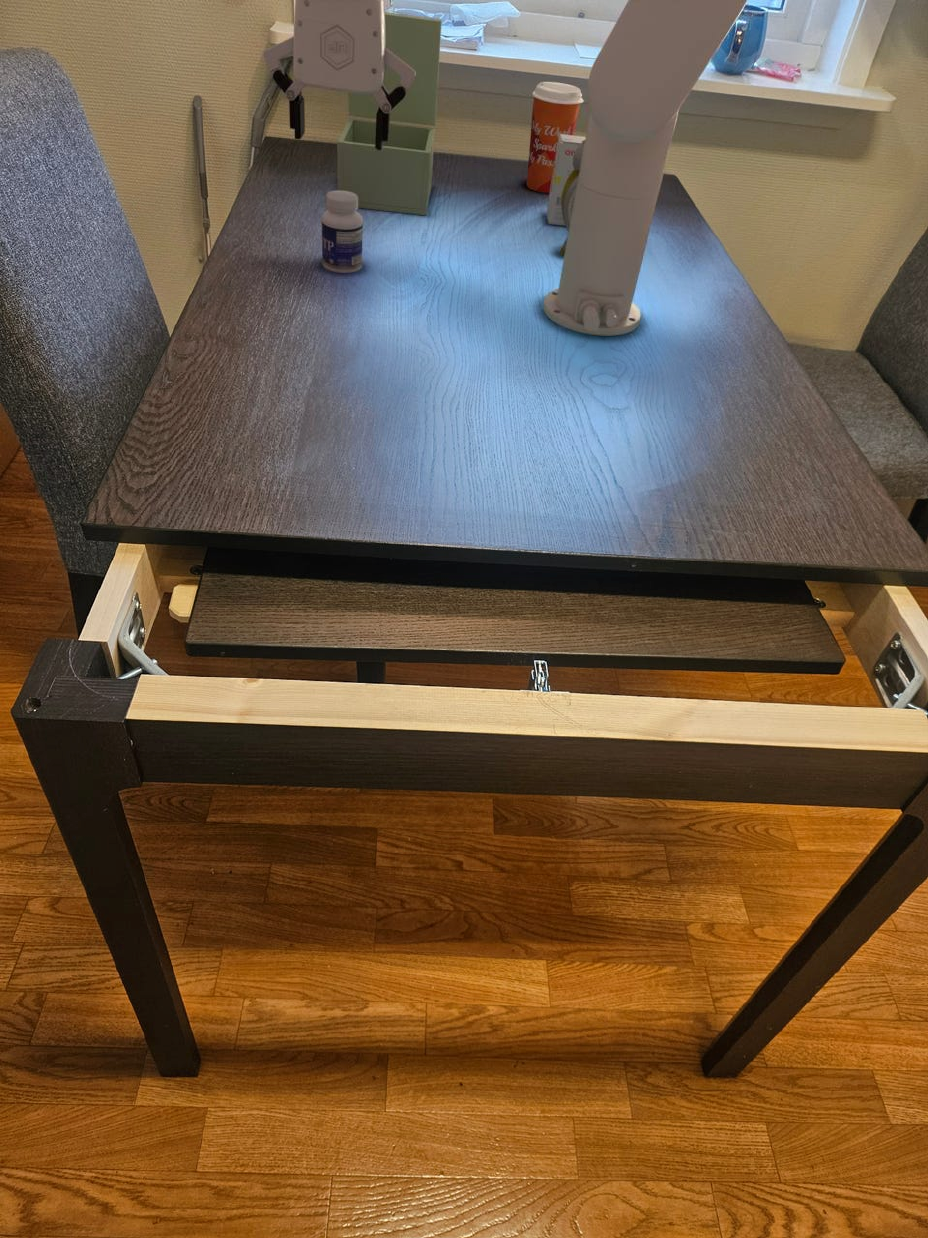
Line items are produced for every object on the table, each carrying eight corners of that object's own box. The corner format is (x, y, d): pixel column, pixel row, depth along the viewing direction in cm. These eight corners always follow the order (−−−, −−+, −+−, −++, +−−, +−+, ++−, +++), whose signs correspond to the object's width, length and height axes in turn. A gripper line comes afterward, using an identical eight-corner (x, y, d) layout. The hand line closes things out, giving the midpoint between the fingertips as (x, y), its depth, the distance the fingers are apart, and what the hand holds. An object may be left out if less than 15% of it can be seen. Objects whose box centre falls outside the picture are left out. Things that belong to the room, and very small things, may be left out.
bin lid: (441, 21, 121) (443, 5, 125) (346, 9, 121) (351, -7, 124) (435, 125, 133) (437, 108, 137) (348, 115, 133) (353, 98, 136)
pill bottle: (317, 259, 113) (315, 188, 107) (354, 257, 115) (354, 187, 109) (329, 275, 110) (329, 203, 104) (367, 272, 112) (369, 201, 106)
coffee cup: (514, 188, 144) (528, 87, 133) (526, 176, 149) (540, 77, 139) (562, 198, 142) (580, 96, 132) (572, 185, 148) (589, 86, 138)
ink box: (598, 219, 137) (614, 137, 128) (601, 230, 133) (618, 147, 125) (545, 213, 136) (558, 131, 128) (547, 224, 132) (560, 140, 124)
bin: (426, 215, 130) (430, 152, 124) (337, 205, 129) (337, 141, 123) (431, 187, 140) (435, 127, 134) (348, 177, 139) (349, 117, 133)
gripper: (253, -43, 87) (261, 140, 99) (419, -19, 88) (408, 160, 100) (267, -51, 93) (273, 123, 105) (424, -28, 94) (413, 142, 106)
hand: (339, 141), depth 102 cm, fingers open, 9 cm apart
